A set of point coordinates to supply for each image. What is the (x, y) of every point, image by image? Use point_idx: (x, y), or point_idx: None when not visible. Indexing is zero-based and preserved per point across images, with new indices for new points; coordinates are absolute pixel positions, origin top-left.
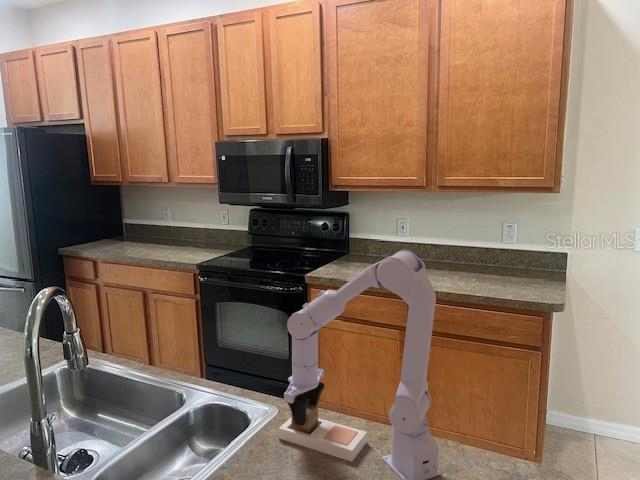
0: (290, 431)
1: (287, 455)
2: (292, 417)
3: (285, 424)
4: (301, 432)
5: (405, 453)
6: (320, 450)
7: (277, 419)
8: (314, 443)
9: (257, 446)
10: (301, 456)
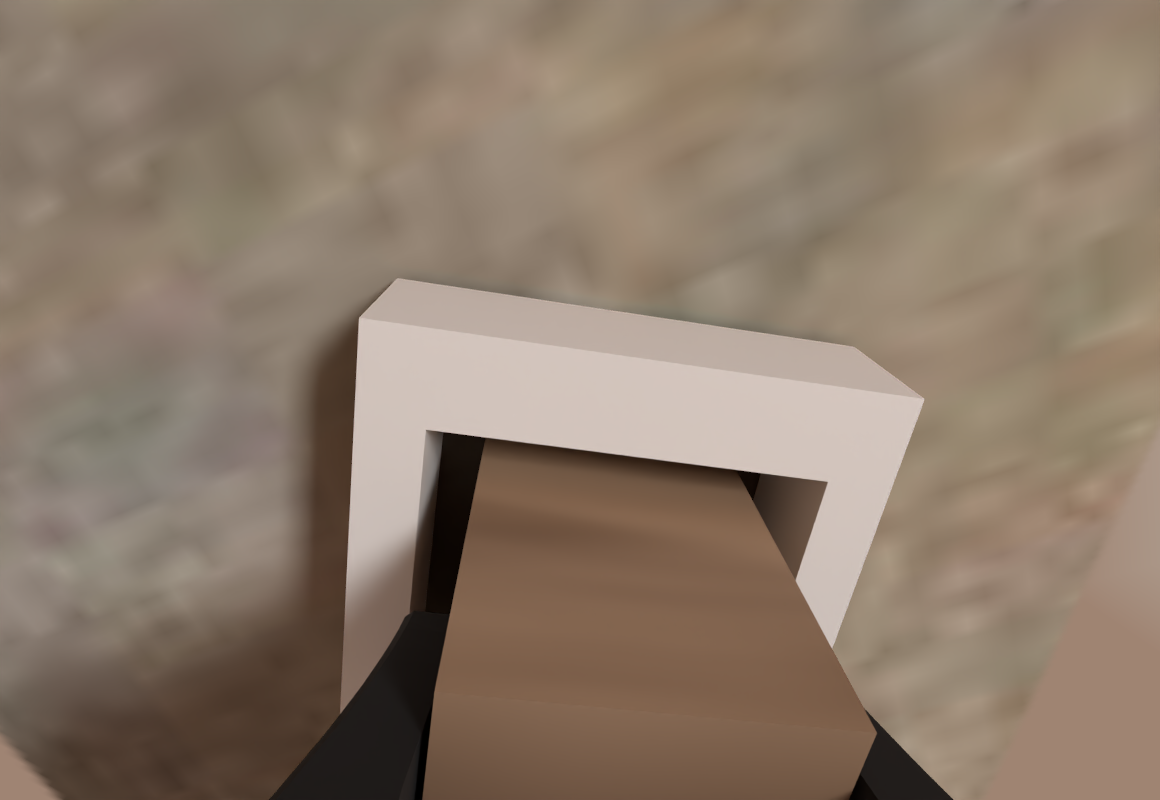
0: (355, 515)
1: (159, 496)
2: (455, 600)
3: (508, 374)
4: None
5: None
6: None
7: (888, 27)
8: None
9: (106, 56)
10: (223, 621)
